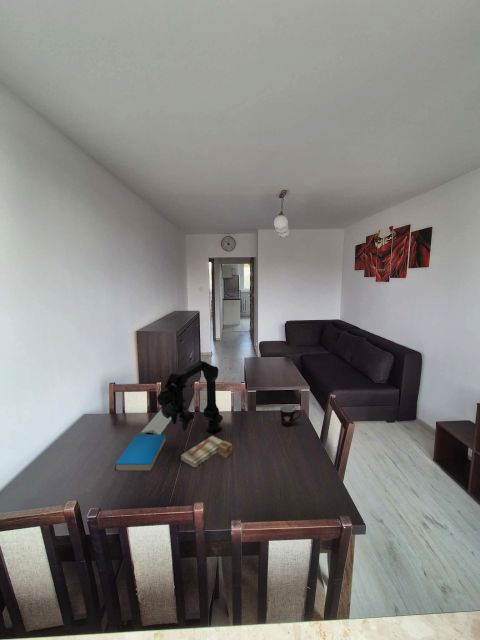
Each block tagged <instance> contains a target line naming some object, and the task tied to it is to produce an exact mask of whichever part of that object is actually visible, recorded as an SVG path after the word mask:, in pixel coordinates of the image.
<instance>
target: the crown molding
mask: <svg viewBox="0 0 480 640" xmlns="http://www.w3.org/2000/svg"><path fill="white" fill-rule="evenodd" d="M162 409H163V408H162ZM162 409H160V410H159V411H158V412H157V413H156V415H155V416H154V417H153V418H152V419H151V420H150V421H149V423H148V424H146V425H145V426H144V428H143V429H142V431H140V433H139V435H146V434H147V433H150V434H152V435H162V433H163V431H164V430H165V429H166V427H167V426H168V425H169V423H170V422H171V421H172V419H171V417H170V418H166V417H164V416H163V414H162V412H161V410H162Z"/></svg>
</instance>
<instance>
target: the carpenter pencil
mask: <svg viewBox="0 0 480 640" xmlns="http://www.w3.org/2000/svg"><path fill="white" fill-rule="evenodd" d="M205 440H206V439H205ZM208 442H209V440H206V441H205V442H204V443H203V444H202V445H200V446H199V447H198V448H197V449H195V450H194V451H193V452H192V453H190V455H193V454H194V453H196V452H197V451H198V450H199V449H200V448H202V447H203V446H204V445H205V444H206V443H208Z"/></svg>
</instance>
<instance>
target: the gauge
mask: <svg viewBox="0 0 480 640" xmlns="http://www.w3.org/2000/svg"><path fill="white" fill-rule="evenodd" d="M223 441H224V442H222V443H221V444H219V445H218V452H217V454H218V455H219V456H221V457H223V458H225V459H226V458H228V457H229V456H230V455H231V454H233V444H232V443H230V442H228V441H227V440H223Z"/></svg>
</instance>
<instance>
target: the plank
mask: <svg viewBox="0 0 480 640" xmlns="http://www.w3.org/2000/svg"><path fill="white" fill-rule="evenodd" d="M206 440H209V442H208V443H206V444H205V445H204V446H203V447H202V448H200V449H199V450H198V451H197V452H196V453H194V454H193V455H190V453H192V452H193V451H194V450H195V449H197V448H198V447H199V446H200V445H202V444H203V443H204V442H205V441H206ZM224 441H225V440H222V439H220V438H218V437H216V436H214V435H211V436H209V437H208V438H206V439H205V440H203V441H202V442H200V443H198V444H197V445H195V446H193V447H191V448H190V449H189V450H187V451H185V452H184V453H182V454H181V455H180V460H181V461H182V462H184V463H186V464H188V465H189V466H191V467H192V468H194V467H196V468H198V465H199V464H200V465H202V464H203V463H204V462H206V461H207V460H208V459H210V458H211V457H213V456H214V455H215V454H218V445H219V444H221V443H222V442H224ZM205 460H206V461H205ZM202 462H203V463H202ZM200 465H199V466H200Z"/></svg>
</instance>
